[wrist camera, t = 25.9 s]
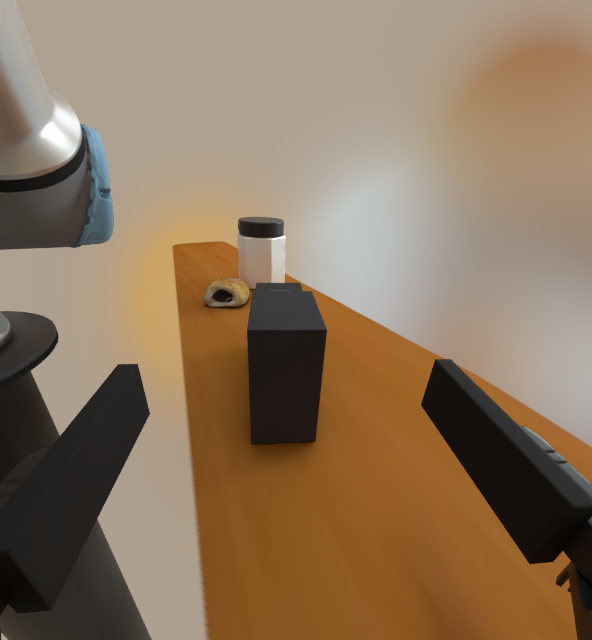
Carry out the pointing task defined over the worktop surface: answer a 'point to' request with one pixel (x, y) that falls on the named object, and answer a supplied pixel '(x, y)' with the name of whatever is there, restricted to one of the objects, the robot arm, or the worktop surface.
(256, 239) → the jar
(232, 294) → the pastry
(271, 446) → the worktop surface
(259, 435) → the block
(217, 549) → the worktop surface
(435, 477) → the worktop surface
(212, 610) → the worktop surface
